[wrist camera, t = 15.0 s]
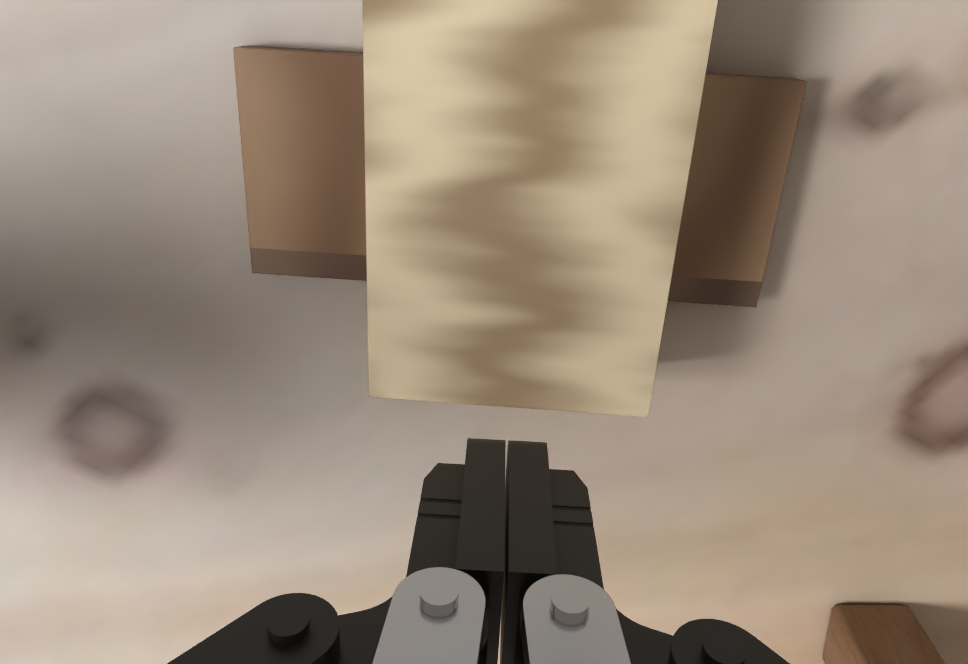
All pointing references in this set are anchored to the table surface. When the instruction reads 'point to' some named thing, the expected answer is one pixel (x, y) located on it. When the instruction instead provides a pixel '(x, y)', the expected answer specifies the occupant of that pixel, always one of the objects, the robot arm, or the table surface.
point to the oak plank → (526, 195)
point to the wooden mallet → (877, 636)
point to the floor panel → (341, 172)
